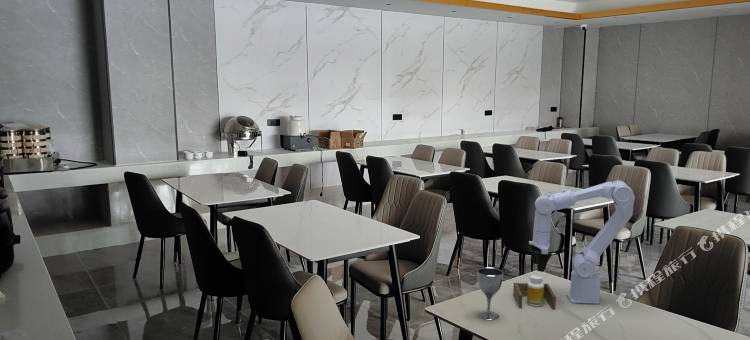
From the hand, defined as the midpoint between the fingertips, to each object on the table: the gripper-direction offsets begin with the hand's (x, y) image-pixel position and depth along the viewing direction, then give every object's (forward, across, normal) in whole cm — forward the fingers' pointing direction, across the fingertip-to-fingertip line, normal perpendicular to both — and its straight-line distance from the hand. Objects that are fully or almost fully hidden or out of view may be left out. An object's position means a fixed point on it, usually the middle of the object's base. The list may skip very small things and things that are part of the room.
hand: (538, 267), depth 205 cm
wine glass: (+11, +19, -19) cm, 29 cm away
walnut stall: (+10, +6, -2) cm, 12 cm away
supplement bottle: (+11, +8, -2) cm, 13 cm away
